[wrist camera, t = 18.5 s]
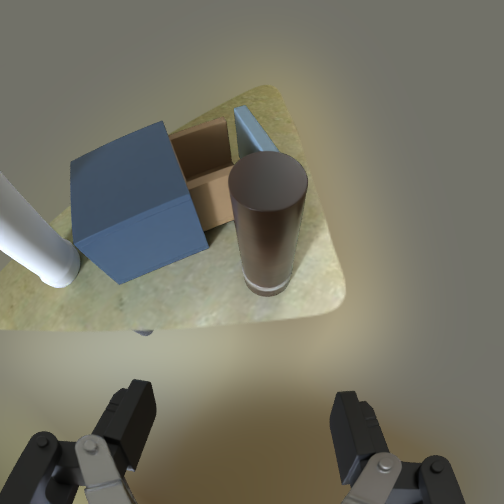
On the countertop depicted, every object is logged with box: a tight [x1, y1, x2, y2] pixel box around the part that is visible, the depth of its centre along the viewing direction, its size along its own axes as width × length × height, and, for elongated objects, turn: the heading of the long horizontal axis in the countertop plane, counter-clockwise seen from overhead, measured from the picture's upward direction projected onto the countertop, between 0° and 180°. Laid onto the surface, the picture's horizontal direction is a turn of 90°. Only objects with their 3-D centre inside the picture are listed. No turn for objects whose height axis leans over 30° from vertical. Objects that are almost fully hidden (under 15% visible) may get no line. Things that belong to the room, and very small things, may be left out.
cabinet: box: [70, 121, 209, 285], centre depth 25 cm, size 9×9×8 cm
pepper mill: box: [228, 151, 308, 297], centre depth 21 cm, size 4×4×13 cm
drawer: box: [168, 105, 279, 232], centre depth 26 cm, size 10×8×7 cm
